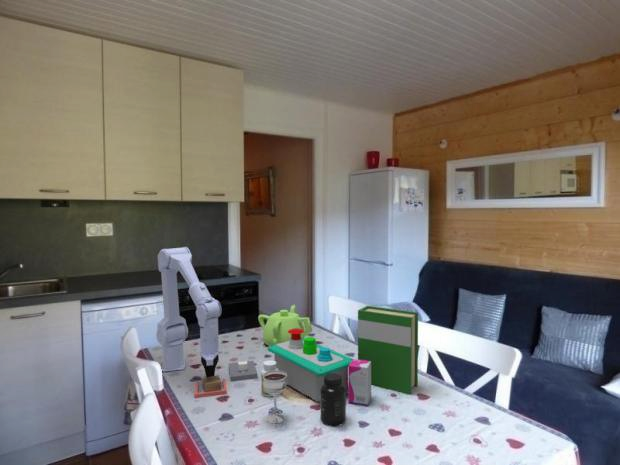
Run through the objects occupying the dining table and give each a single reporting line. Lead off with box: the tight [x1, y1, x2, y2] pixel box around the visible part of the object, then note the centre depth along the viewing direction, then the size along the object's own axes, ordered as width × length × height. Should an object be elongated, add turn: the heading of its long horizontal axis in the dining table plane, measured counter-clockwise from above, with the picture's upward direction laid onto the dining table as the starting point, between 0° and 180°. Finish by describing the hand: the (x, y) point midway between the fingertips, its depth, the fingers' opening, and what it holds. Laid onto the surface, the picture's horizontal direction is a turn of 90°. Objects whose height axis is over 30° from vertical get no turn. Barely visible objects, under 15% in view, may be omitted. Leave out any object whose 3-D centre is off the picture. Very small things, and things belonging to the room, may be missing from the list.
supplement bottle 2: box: [319, 373, 347, 427], centre depth 105 cm, size 7×7×12 cm
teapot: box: [257, 304, 313, 347], centre depth 167 cm, size 19×20×14 cm
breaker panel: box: [228, 360, 259, 382], centre depth 137 cm, size 12×9×2 cm
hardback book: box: [357, 305, 419, 396], centre depth 127 cm, size 18×7×24 cm, turn 58°
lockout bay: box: [194, 378, 228, 399], centre depth 124 cm, size 9×10×1 cm
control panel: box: [267, 328, 354, 403], centre depth 127 cm, size 15×16×30 cm
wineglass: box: [261, 370, 288, 424], centre depth 106 cm, size 7×7×12 cm
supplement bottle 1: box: [260, 360, 279, 398], centre depth 121 cm, size 5×5×10 cm
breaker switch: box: [237, 360, 248, 371], centre depth 135 cm, size 2×3×2 cm
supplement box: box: [348, 358, 372, 407], centre depth 116 cm, size 6×6×12 cm
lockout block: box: [201, 375, 223, 392], centre depth 124 cm, size 5×5×4 cm
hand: (210, 378), depth 128 cm, fingers closed
